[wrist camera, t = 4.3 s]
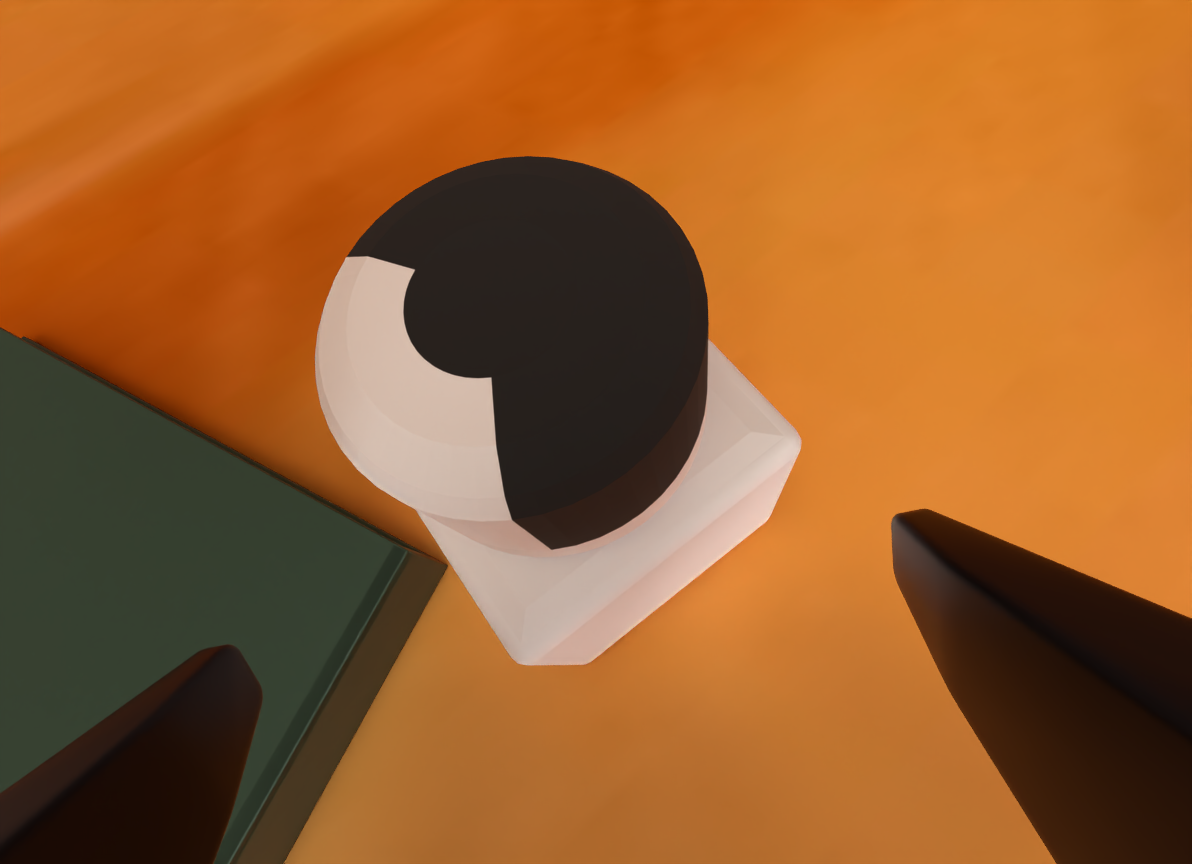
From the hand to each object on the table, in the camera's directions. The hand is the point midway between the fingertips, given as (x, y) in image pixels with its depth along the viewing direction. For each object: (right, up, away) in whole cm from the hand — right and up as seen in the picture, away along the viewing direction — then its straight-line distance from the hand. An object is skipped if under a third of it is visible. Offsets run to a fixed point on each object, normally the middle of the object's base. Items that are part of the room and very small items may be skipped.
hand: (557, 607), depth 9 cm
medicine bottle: (+1, 0, +12) cm, 12 cm away
